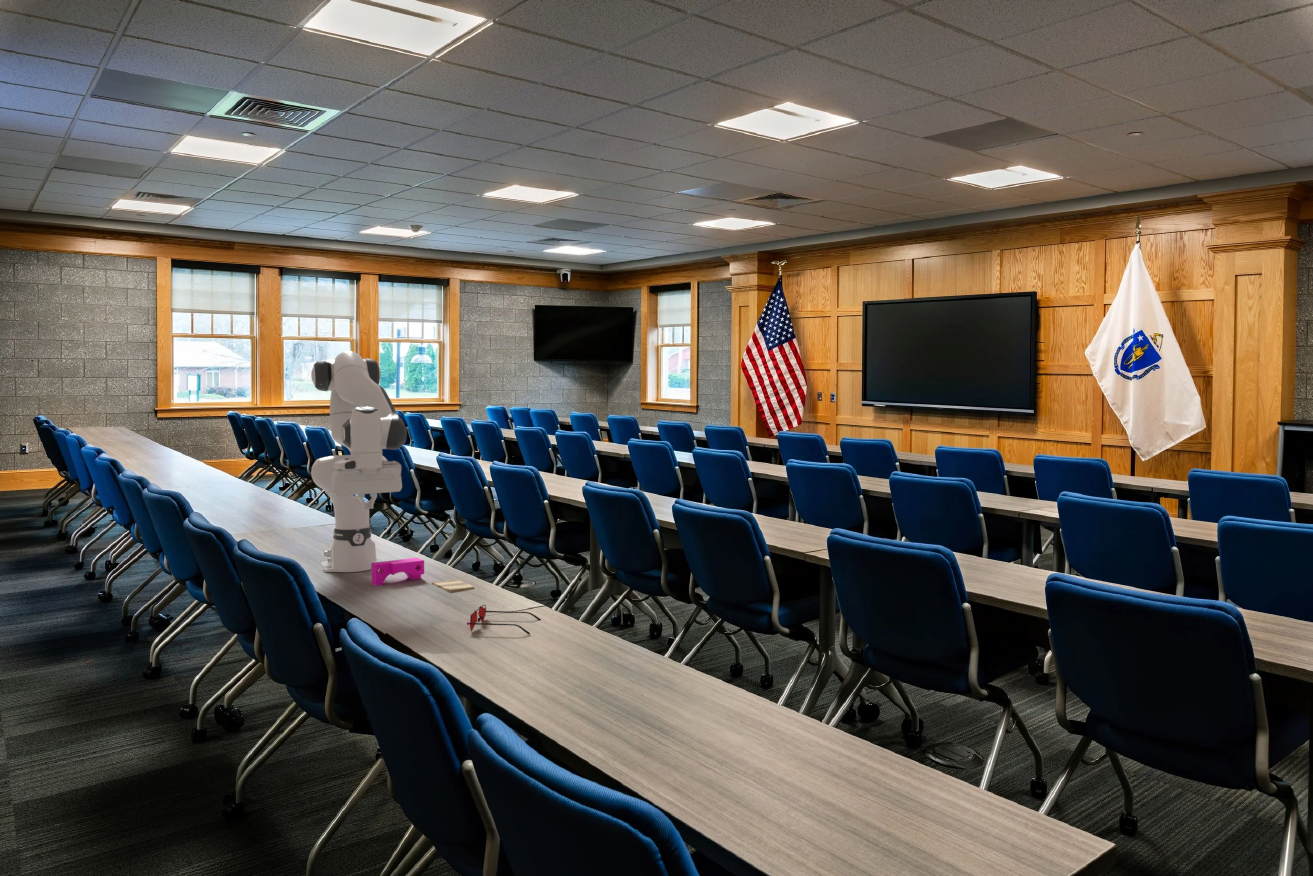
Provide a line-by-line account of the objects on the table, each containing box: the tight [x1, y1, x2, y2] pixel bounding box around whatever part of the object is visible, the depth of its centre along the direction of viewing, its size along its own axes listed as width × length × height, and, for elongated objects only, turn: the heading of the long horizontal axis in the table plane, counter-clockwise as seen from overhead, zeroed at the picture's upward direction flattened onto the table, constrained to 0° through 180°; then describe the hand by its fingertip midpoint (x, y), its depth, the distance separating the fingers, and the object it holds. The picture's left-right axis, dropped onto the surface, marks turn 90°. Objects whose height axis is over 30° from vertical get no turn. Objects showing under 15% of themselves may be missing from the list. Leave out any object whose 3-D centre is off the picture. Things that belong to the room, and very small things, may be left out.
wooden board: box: [431, 578, 475, 593], centre depth 279 cm, size 14×8×1 cm, turn 37°
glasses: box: [466, 604, 542, 635], centre depth 233 cm, size 14×16×5 cm
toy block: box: [370, 557, 425, 587], centre depth 285 cm, size 15×6×8 cm, turn 128°
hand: (367, 508), depth 262 cm, fingers closed
